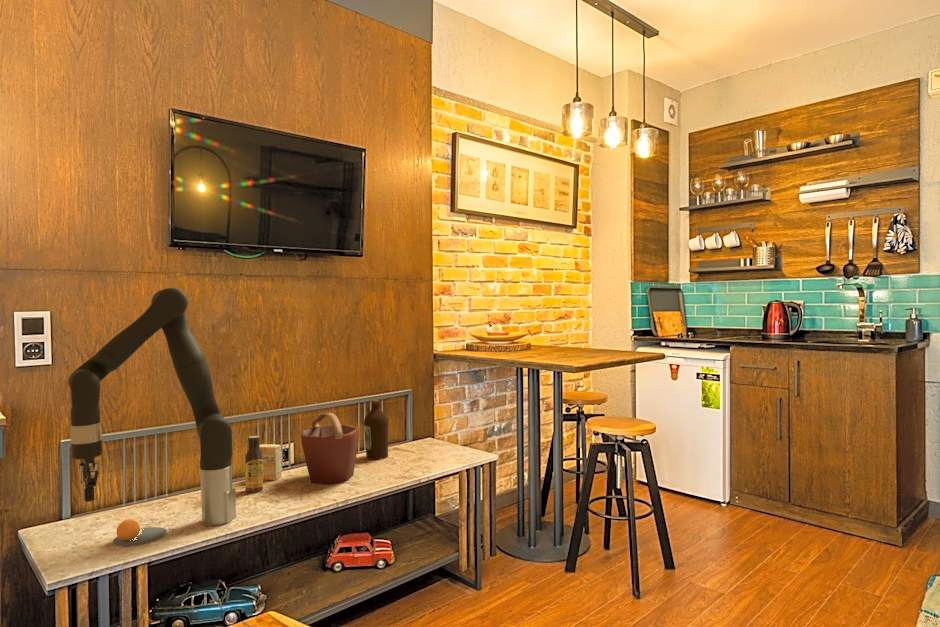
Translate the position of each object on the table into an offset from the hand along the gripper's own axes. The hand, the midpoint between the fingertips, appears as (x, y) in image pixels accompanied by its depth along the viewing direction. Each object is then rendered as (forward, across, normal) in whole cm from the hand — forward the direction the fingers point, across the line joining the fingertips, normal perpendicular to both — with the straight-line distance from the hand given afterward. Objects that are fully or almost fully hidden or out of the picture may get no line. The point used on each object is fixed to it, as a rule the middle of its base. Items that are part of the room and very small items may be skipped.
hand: (89, 500), depth 170 cm
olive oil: (+14, +22, -112) cm, 115 cm away
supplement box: (+14, +28, -66) cm, 73 cm away
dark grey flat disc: (+14, 0, -13) cm, 19 cm away
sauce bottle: (+14, +17, -55) cm, 59 cm away
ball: (+11, 0, -9) cm, 14 cm away
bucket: (+14, +9, -83) cm, 84 cm away
